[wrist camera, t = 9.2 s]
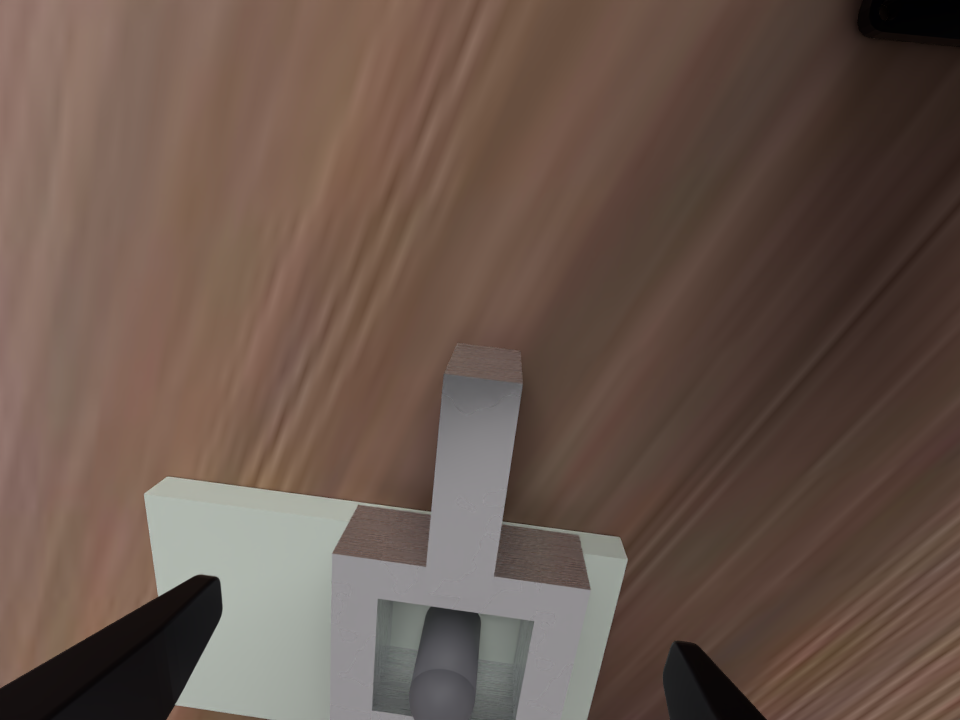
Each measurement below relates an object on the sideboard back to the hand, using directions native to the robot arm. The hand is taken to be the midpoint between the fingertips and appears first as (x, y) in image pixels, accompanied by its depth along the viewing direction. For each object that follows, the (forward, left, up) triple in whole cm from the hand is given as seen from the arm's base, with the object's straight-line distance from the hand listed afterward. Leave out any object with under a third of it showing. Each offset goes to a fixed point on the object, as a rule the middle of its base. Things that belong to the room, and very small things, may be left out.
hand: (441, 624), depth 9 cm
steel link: (0, +3, -7) cm, 8 cm away
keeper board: (+3, +9, -8) cm, 12 cm away
